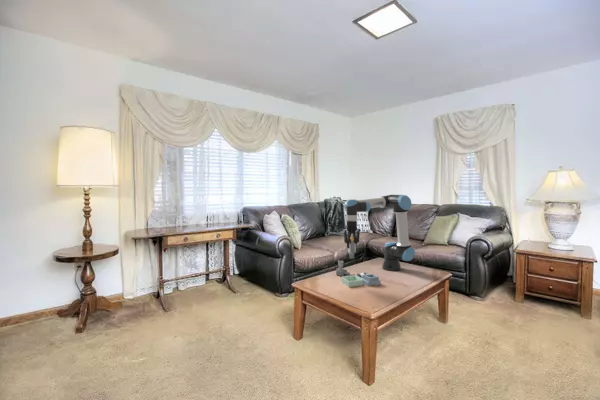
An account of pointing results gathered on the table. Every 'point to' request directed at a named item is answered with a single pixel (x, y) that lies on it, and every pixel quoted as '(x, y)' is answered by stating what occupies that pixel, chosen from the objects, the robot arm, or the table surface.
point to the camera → (342, 270)
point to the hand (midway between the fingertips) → (351, 252)
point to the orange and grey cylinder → (352, 248)
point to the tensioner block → (369, 279)
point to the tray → (351, 281)
